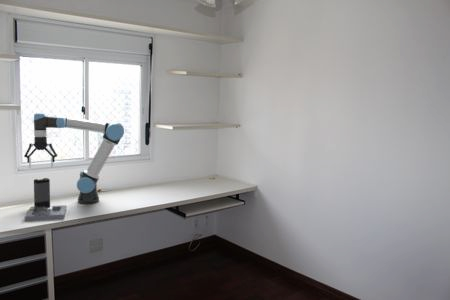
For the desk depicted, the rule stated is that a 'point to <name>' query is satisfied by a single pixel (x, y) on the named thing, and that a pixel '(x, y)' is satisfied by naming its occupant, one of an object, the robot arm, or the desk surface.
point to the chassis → (45, 213)
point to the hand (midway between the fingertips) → (41, 167)
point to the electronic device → (42, 192)
